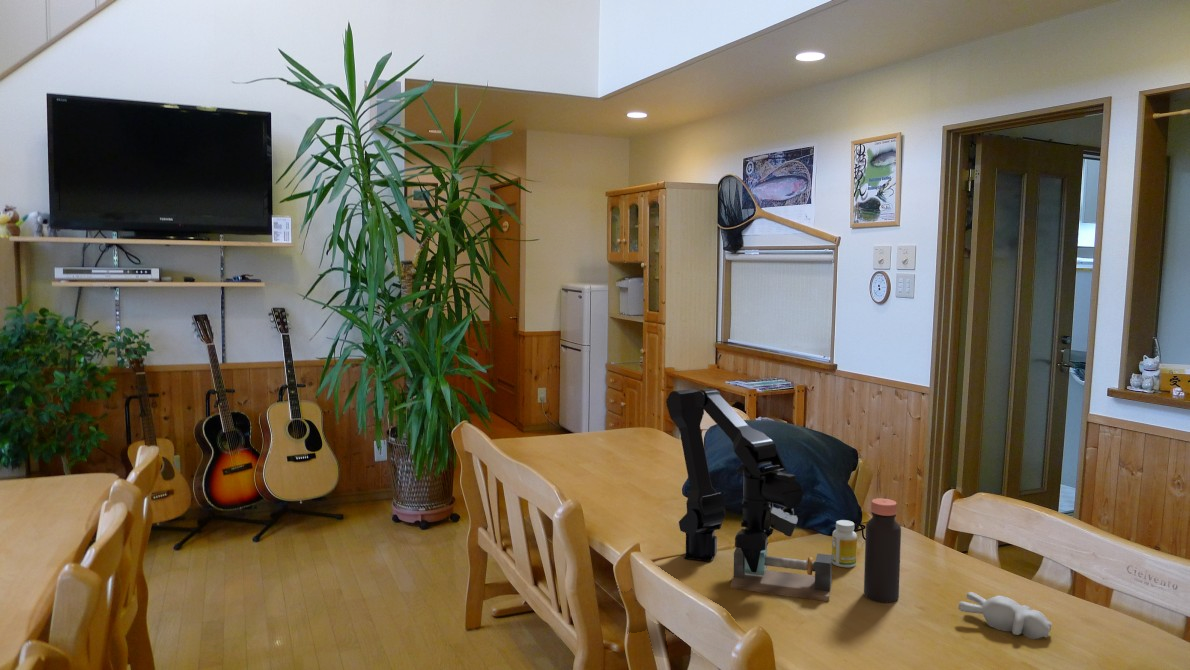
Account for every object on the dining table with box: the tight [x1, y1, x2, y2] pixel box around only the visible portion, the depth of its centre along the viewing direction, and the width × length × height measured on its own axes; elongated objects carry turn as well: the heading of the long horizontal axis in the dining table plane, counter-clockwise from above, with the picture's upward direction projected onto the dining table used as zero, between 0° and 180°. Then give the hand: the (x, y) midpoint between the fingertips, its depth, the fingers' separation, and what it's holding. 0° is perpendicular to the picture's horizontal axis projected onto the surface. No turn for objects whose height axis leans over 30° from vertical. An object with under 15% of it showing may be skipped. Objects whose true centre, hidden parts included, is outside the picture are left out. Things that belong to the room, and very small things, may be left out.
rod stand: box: [730, 547, 833, 602], centre depth 170 cm, size 20×10×7 cm, turn 70°
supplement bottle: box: [831, 519, 858, 569], centre depth 182 cm, size 5×5×10 cm
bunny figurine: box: [957, 591, 1053, 640], centre depth 151 cm, size 10×5×15 cm
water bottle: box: [863, 497, 902, 604], centre depth 163 cm, size 7×7×20 cm
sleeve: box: [745, 546, 768, 576], centre depth 172 cm, size 4×5×5 cm
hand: (755, 567), depth 172 cm, fingers open, 5 cm apart
